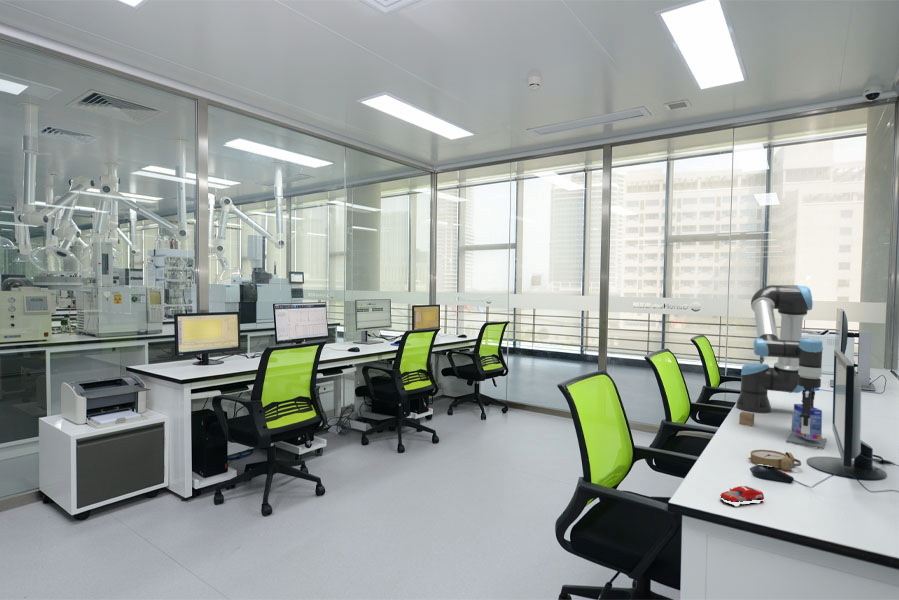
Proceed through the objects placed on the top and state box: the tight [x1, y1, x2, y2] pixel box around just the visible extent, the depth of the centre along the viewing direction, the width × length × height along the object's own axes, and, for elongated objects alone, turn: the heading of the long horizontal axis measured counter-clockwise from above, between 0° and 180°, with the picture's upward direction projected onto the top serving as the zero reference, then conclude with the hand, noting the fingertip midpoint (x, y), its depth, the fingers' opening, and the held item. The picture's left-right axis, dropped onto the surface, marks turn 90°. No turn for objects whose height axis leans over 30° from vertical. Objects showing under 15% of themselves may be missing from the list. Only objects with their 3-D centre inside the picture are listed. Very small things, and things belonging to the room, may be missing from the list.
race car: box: [719, 485, 765, 502], centre depth 139 cm, size 13×5×4 cm, turn 105°
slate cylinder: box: [791, 414, 794, 432], centre depth 208 cm, size 5×5×7 cm
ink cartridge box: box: [792, 400, 823, 440], centre depth 195 cm, size 10×6×14 cm, turn 174°
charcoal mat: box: [785, 432, 827, 450], centre depth 195 cm, size 14×12×1 cm
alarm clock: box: [747, 449, 802, 472], centre depth 169 cm, size 11×5×15 cm
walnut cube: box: [738, 411, 755, 427], centre depth 218 cm, size 5×5×5 cm
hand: (806, 430), depth 195 cm, fingers closed on ink cartridge box, 10 cm apart
